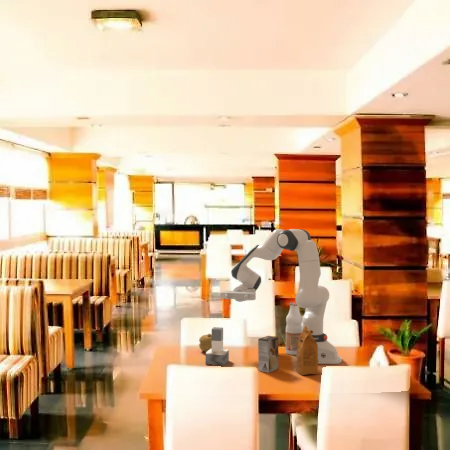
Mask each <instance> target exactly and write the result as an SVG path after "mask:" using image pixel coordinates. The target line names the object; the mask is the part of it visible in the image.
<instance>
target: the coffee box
mask: <svg viewBox="0 0 450 450" xmlns="http://www.w3.org/2000/svg"><path fill="white" fill-rule="evenodd" d="M257 341H258V342H257V344H258V346H257V347H258V350H257V351H258V356H257V357H258V371H259V372H264V373H268V374H270V373H271V372H274V371H277V370H278V369H279V337H278V336H274V335H273V336H271V335H266V336H264V337H260V338H258V340H257Z"/></svg>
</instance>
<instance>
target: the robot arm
mask: <svg viewBox="0 0 450 450" xmlns="http://www.w3.org/2000/svg"><path fill="white" fill-rule="evenodd" d="M283 250H286V251H291V252H294V251H295V252H296V254H297V257H298V258H297V259H298V269H299V270H298V271H299V283H298V288H297V289H298V290H297V293H296V295H295V303H297V305H298V308H301V309H305V310H304V313H303V316H302V331H303V328H304V326H306V327H307V328H308V330H312V331H313V333H311V334H312V336H313V338H314V340H315V341H316V343H317V345H318V365H339V364H342V362H343V359H342V357H341V356H339V354H338V350H337V348H336V346H334V345H333V343H331V342H330V341H328V335H327V333H324V316H325V312H326V307H327V304H328V303H327V302H328V301H329V299H330V291H329V289H328V288H327V287H326V286H324V285H320V284H319V281H320V278H321V271H322V270H321V263H320V256H319V250H318V247H317V244H316V242H315V241H314V240H312V237H311V234H310V233H309V232H308V231H307V230H305V229H302V228H300V229H295V228H290V229H282V228H276V229H274V230H273V231H272V232H271V233H270V234H269V235H268V237H267V238H266V240H265V241H264V242H263V243H262V244H256V245H255V246H253V247H252V248H251V250H249V251H248V253H246V254H245V256H244V257H243V258H241V259H240V260H239V262H238V263H236V264H235V265H233V267H232V269H231V271H230V272H231V276H232V278H233V279H235V280H236V281H238V282H240V283H241V284H238V286H235V287H234V288H233V290H223V291H220V292H219V298H220V299H225V300H235V302H239V303H240V302H241V303H242V302H247V301H255V300H256V299H257V298H256V296H257V295H256V293H257V292H256V291H257V290H258V289H259V287H260V286H261V284H262V277H261V275H260V274H258V273H257V272H256V271H254V270H252V269H251V268H249V266H248V265H247V264H248V263H249V262H250V261H251V260H252V259H253V258H258V259H262V260H265V261H274V260H276V259H277V258H278V257H279V256H281V254H282V252H283Z"/></svg>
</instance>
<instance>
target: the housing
mask: <svg viewBox="0 0 450 450" xmlns="http://www.w3.org/2000/svg"><path fill="white" fill-rule="evenodd" d="M211 335H212V352H218V353H221V352H222V351H223V349H224V327H218V326H217V327H216V326H213V327H212V328H211Z"/></svg>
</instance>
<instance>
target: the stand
mask: <svg viewBox="0 0 450 450" xmlns="http://www.w3.org/2000/svg"><path fill="white" fill-rule="evenodd" d="M229 353H230V350H229V349H227V348H226V349H225V348H223V351H222V352H221V353H218V352H212V349H211V348H210V349H209V350H208V351H207V352H205V365H206V364H212V365H211V366H219V365H222V366H221V367H225V366H226V364H228V363H229V361H230V360H229V357H230V356H229V355H230V354H229Z"/></svg>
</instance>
